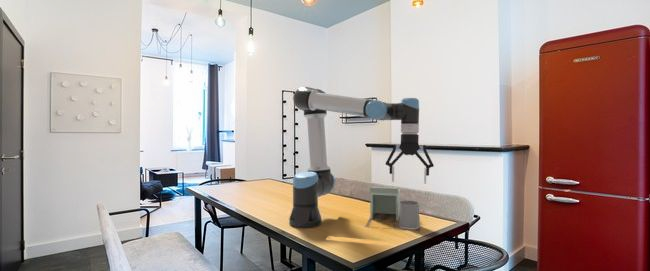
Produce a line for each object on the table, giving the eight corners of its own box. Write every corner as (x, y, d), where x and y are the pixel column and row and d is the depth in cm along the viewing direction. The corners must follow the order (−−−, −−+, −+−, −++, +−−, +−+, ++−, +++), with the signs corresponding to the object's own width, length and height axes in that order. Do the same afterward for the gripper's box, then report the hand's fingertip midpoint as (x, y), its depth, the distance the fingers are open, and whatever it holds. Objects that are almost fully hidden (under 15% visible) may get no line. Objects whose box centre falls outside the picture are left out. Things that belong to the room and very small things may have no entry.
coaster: (398, 228, 137) (398, 227, 137) (399, 222, 145) (399, 221, 145) (419, 230, 135) (419, 229, 135) (419, 224, 143) (419, 223, 143)
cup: (419, 228, 135) (419, 205, 135) (399, 227, 137) (399, 204, 136) (418, 223, 143) (418, 201, 143) (399, 222, 145) (399, 200, 145)
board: (365, 230, 139) (365, 226, 139) (372, 215, 164) (372, 212, 164) (420, 234, 133) (420, 231, 133) (419, 218, 158) (419, 215, 158)
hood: (370, 218, 152) (370, 187, 151) (373, 212, 164) (373, 183, 163) (398, 220, 148) (398, 188, 148) (399, 214, 160) (399, 184, 160)
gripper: (379, 133, 139) (379, 181, 139) (440, 134, 132) (439, 185, 133) (381, 133, 146) (380, 179, 147) (439, 134, 139) (438, 182, 140)
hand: (408, 182), depth 140 cm, fingers open, 13 cm apart
